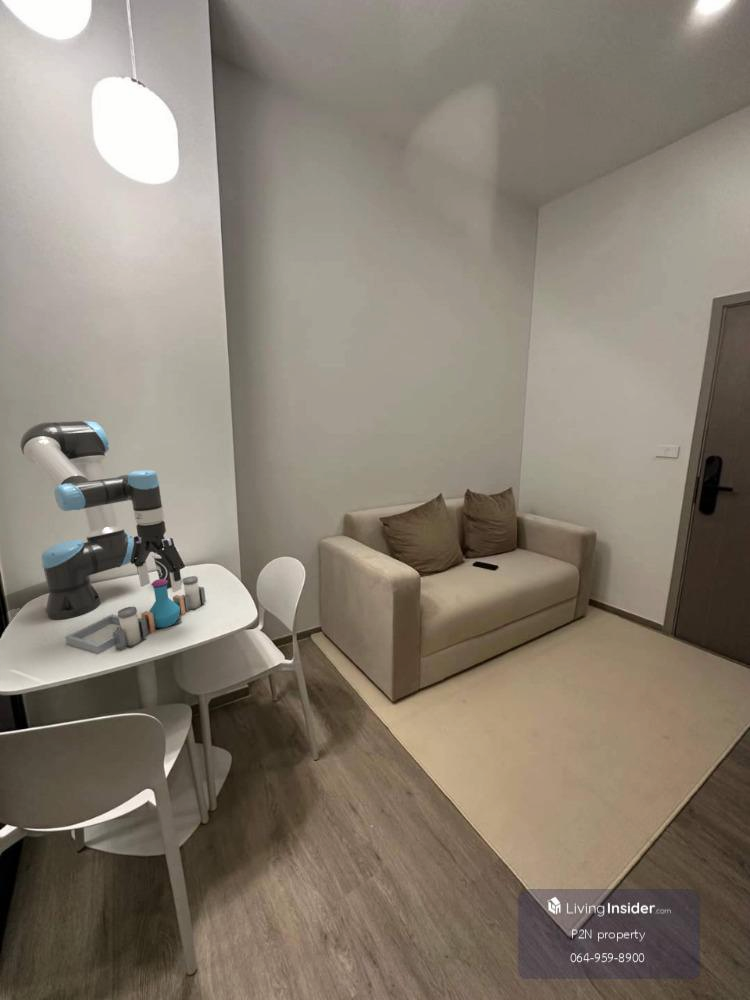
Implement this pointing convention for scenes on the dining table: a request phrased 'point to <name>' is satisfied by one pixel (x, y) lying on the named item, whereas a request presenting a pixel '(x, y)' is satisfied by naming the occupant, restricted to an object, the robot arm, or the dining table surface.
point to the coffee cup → (163, 568)
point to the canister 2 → (192, 591)
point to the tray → (87, 645)
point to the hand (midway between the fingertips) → (160, 587)
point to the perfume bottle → (163, 605)
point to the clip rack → (148, 621)
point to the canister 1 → (130, 625)
